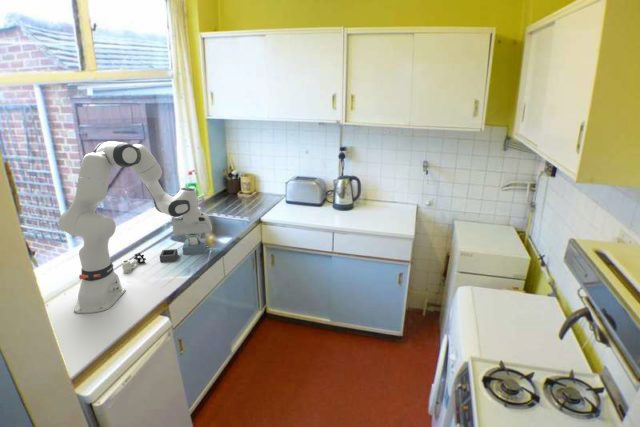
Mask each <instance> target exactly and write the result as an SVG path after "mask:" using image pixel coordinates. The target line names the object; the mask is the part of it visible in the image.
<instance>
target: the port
mask: <svg viewBox="0 0 640 427" xmlns="http://www.w3.org/2000/svg"><path fill="white" fill-rule="evenodd" d="M198 243H199V245H191V244H190V241H188V240H187V239H185V241H184V243H183V246H182V247H181V248H182V255H183V256H185V255H199V254H201V255H202V254H205V253H206V248H207V245H208V244H207V238H206V237H204V238H200V241H198Z"/></svg>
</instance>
